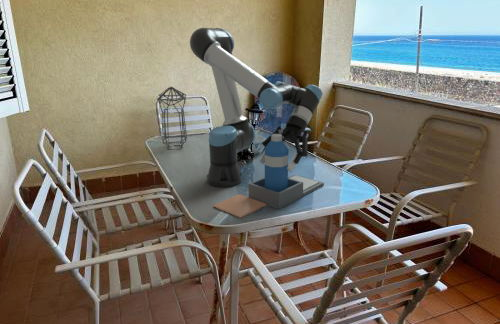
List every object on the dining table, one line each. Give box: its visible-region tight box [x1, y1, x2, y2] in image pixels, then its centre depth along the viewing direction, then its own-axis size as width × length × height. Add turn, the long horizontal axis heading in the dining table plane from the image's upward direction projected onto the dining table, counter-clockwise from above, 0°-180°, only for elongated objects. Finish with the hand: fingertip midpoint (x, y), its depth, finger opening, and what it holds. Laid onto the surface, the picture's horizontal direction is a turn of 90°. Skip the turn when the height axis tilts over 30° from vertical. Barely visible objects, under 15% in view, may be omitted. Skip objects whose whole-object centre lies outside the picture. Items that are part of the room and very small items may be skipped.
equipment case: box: [248, 174, 325, 210], centre depth 145 cm, size 15×30×6 cm, turn 137°
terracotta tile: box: [212, 193, 268, 219], centre depth 133 cm, size 14×14×1 cm
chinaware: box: [252, 135, 267, 155], centre depth 198 cm, size 15×15×8 cm
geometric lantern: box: [156, 86, 188, 149], centre depth 204 cm, size 16×16×35 cm
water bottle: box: [264, 134, 289, 192], centre depth 137 cm, size 9×9×25 cm
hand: (274, 166), depth 135 cm, fingers open, 13 cm apart
